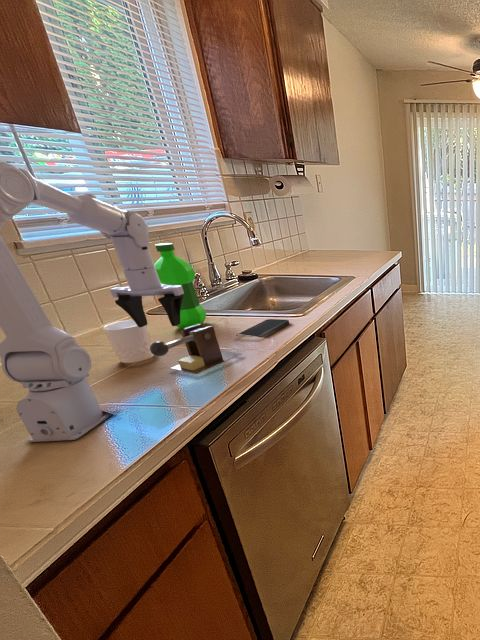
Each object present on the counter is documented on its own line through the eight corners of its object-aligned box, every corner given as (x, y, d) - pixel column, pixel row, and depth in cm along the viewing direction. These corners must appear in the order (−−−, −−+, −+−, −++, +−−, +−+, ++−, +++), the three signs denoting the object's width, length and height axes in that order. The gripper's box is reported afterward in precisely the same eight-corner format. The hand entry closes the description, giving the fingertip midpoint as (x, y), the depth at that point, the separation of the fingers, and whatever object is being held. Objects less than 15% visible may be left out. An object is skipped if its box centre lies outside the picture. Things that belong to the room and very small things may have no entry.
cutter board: (198, 378, 91) (184, 338, 87) (171, 372, 94) (157, 334, 90) (243, 358, 101) (233, 321, 97) (218, 353, 104) (207, 318, 100)
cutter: (159, 359, 85) (153, 345, 84) (149, 357, 86) (144, 343, 85) (211, 339, 96) (207, 327, 94) (202, 338, 97) (197, 325, 95)
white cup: (137, 369, 96) (121, 330, 92) (111, 367, 97) (94, 328, 93) (166, 356, 103) (153, 319, 99) (142, 354, 104) (127, 318, 100)
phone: (290, 319, 125) (258, 336, 112) (291, 323, 125) (259, 340, 112) (267, 319, 126) (233, 335, 113) (268, 322, 127) (234, 339, 113)
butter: (193, 370, 92) (190, 362, 91) (180, 367, 93) (177, 360, 93) (206, 365, 95) (203, 357, 94) (193, 362, 96) (191, 354, 95)
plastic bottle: (207, 319, 131) (183, 240, 121) (212, 327, 124) (186, 244, 113) (170, 325, 125) (141, 243, 115) (173, 334, 118) (142, 248, 108)
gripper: (183, 263, 93) (201, 319, 99) (118, 265, 92) (140, 321, 98) (163, 269, 87) (183, 328, 92) (93, 271, 86) (118, 330, 91)
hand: (160, 325), depth 95 cm, fingers open, 7 cm apart
